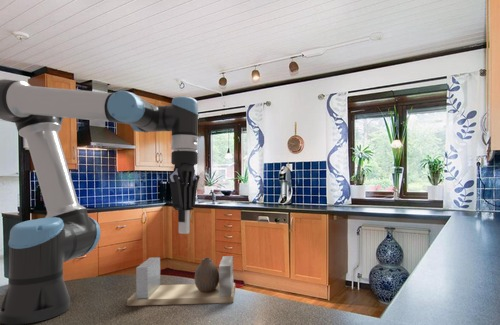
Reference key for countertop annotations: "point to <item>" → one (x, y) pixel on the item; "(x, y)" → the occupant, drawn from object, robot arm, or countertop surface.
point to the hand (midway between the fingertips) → (184, 233)
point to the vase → (206, 276)
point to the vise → (192, 291)
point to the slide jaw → (148, 277)
